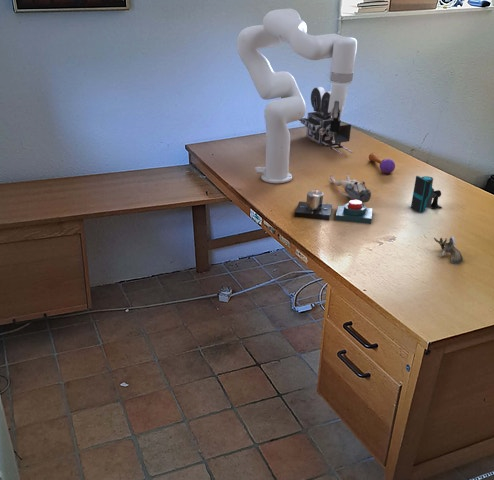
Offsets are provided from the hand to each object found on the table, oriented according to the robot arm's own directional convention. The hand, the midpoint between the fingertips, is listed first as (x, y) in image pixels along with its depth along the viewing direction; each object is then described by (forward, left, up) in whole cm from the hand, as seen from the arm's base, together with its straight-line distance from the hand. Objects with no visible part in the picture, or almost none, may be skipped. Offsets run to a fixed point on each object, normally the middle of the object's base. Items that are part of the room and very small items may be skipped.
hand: (334, 131), depth 197 cm
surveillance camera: (+35, -2, -25) cm, 43 cm away
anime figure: (+8, +5, -25) cm, 27 cm away
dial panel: (-4, -16, -25) cm, 30 cm away
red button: (+10, -16, -22) cm, 29 cm away
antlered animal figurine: (+40, -39, -25) cm, 61 cm away
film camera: (-9, +67, -25) cm, 72 cm away
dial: (-4, -16, -23) cm, 28 cm away
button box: (+10, -16, -25) cm, 32 cm away
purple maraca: (+17, +39, -25) cm, 50 cm away
